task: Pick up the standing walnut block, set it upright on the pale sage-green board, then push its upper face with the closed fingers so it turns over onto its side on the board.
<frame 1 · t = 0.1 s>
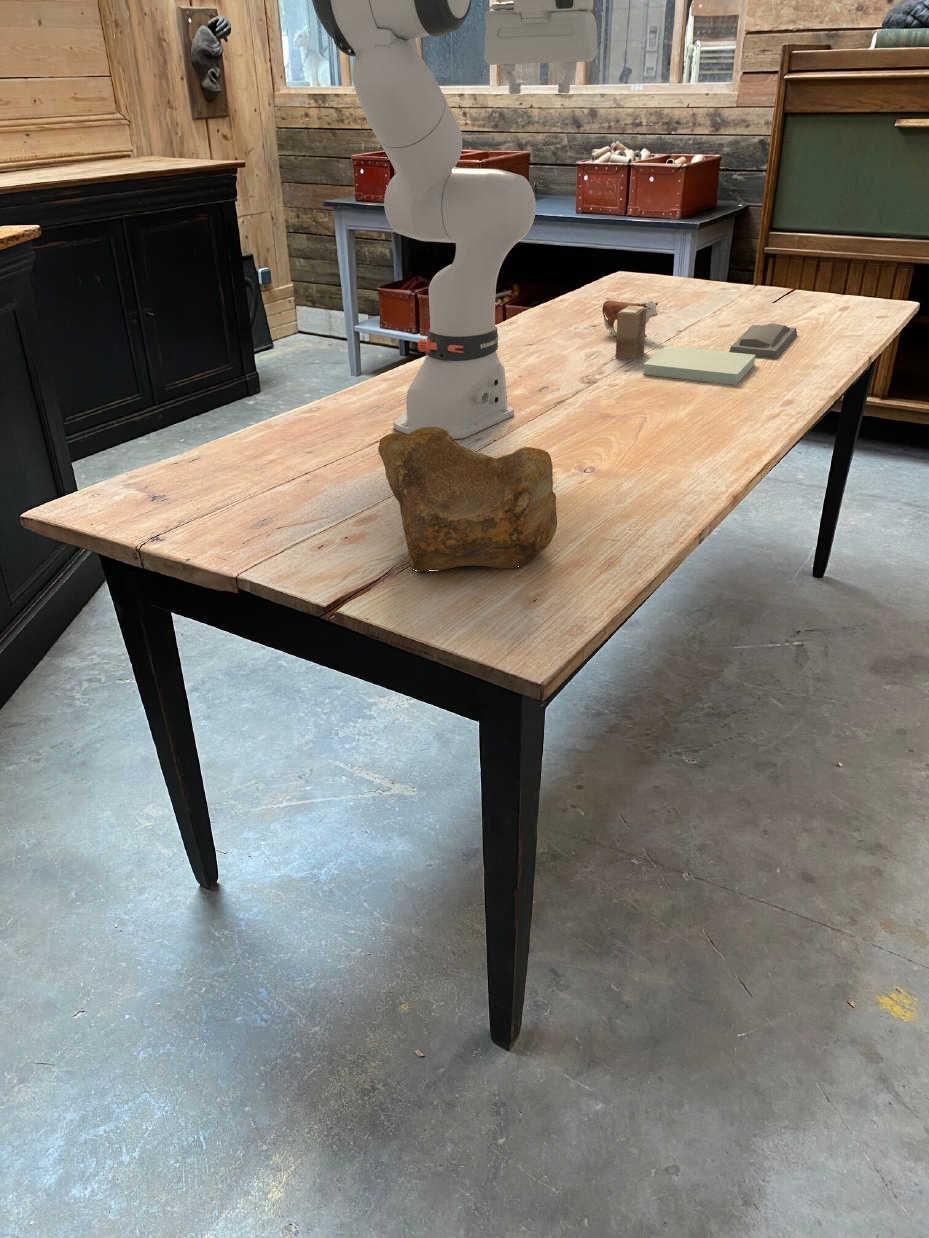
hand: (539, 94, 166), 48 cm above the table, tool pointing down, fingers open, 8 cm apart
block: (629, 355, 194), on the table
bull figurine: (629, 337, 207), on the table
soap mold: (762, 347, 198), on the table
board: (699, 369, 183), on the table
rough brown rock: (456, 559, 118), on the table
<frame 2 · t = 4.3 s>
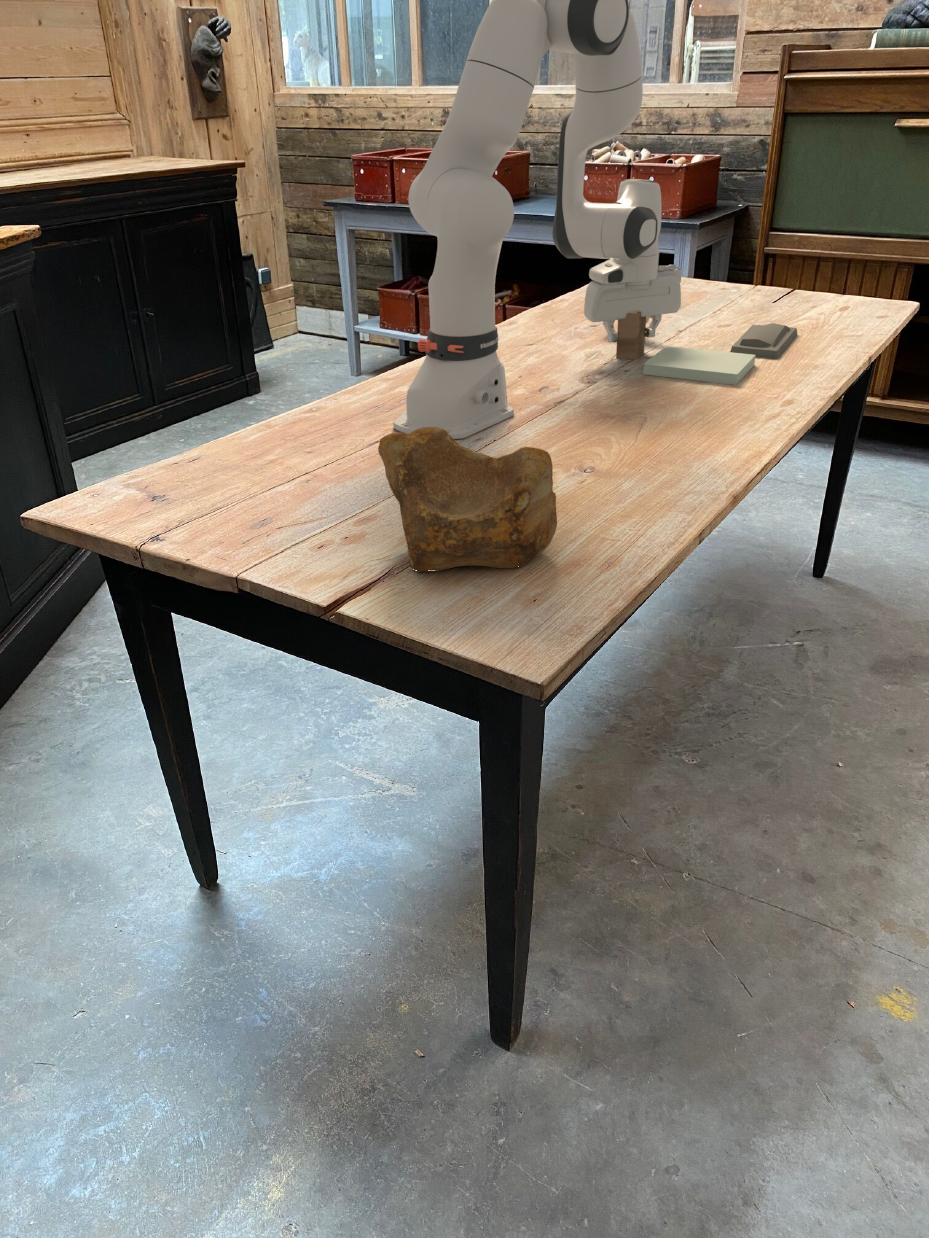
hand: (631, 339, 192), 3 cm above the table, tool pointing down, fingers closed on block, 7 cm apart
block: (630, 354, 194), on the table, touching gripper
everything else where it was.
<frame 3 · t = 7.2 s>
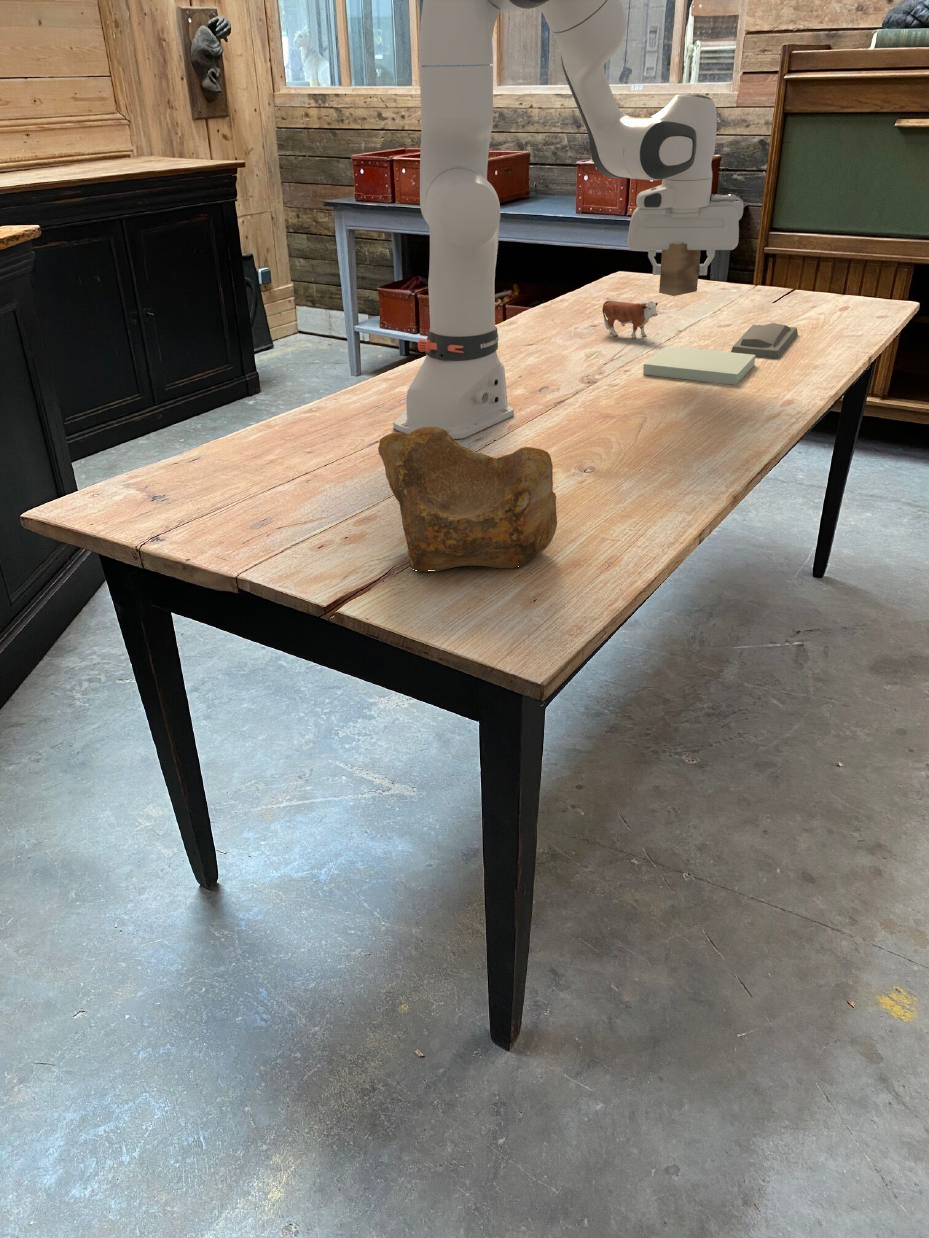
hand: (679, 274, 178), 17 cm above the table, tool pointing down, fingers closed on block, 7 cm apart
block: (677, 292, 179), point 14 cm above the table, touching gripper
everything else where it was.
when the fingers open (6 cm above the table, at t = 10.1 s): block stays where it is, resting on board.
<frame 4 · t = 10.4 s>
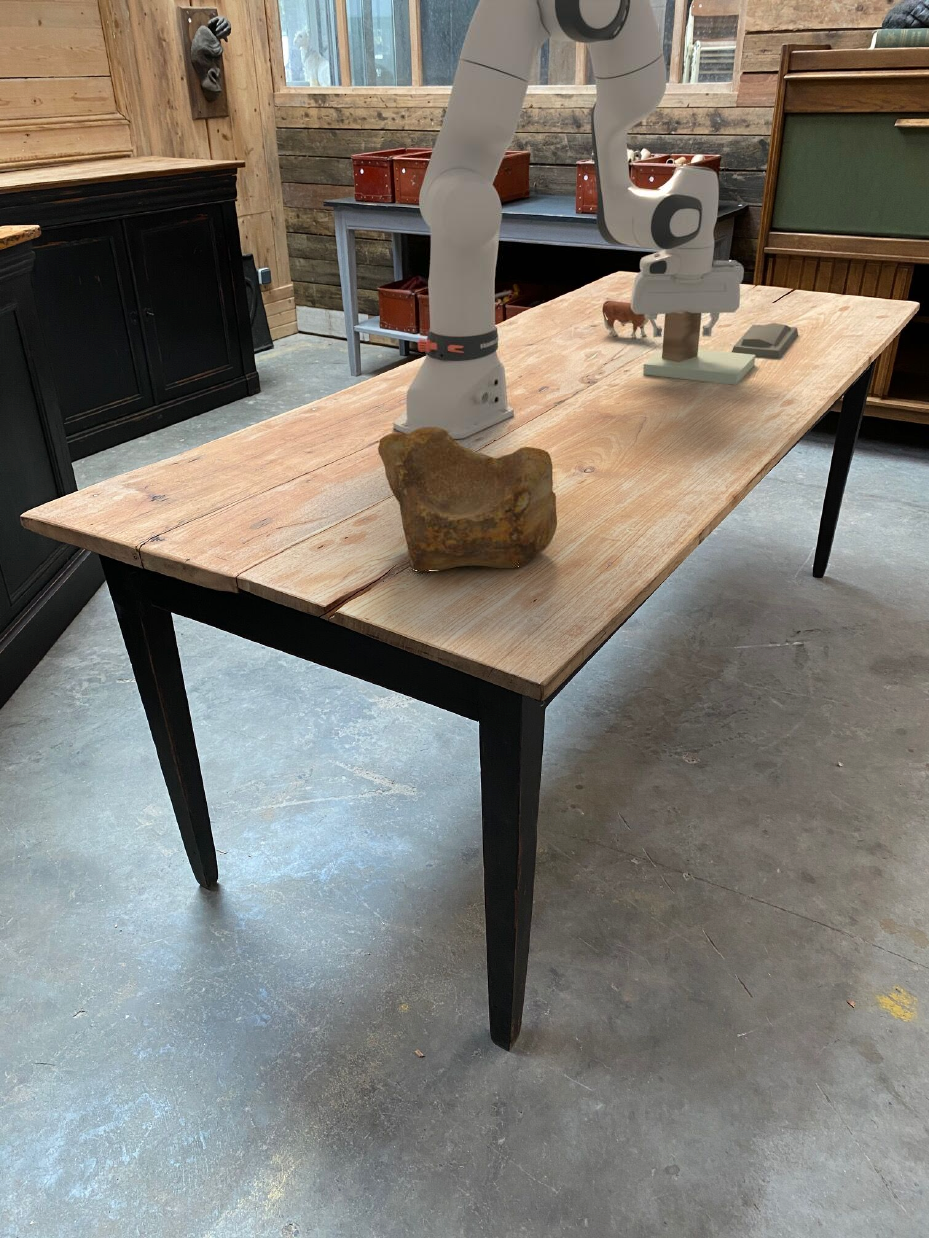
hand: (681, 336, 182), 6 cm above the table, tool pointing down, fingers open, 8 cm apart
block: (679, 357, 184), point 2 cm above the table, touching board
everything else where it was.
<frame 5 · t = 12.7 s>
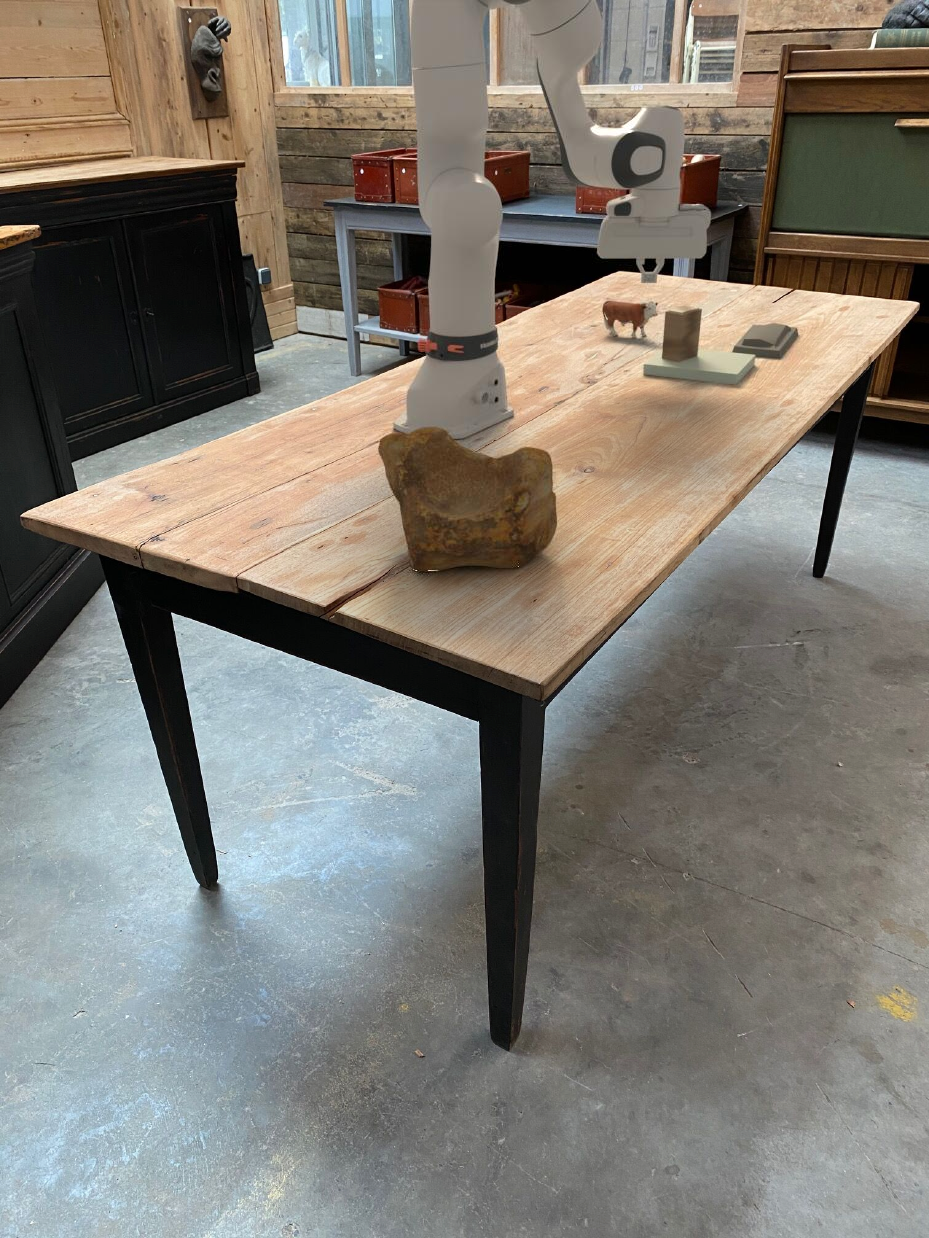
hand: (648, 282, 180), 16 cm above the table, tool pointing down, fingers closed
nothing on the table moved.
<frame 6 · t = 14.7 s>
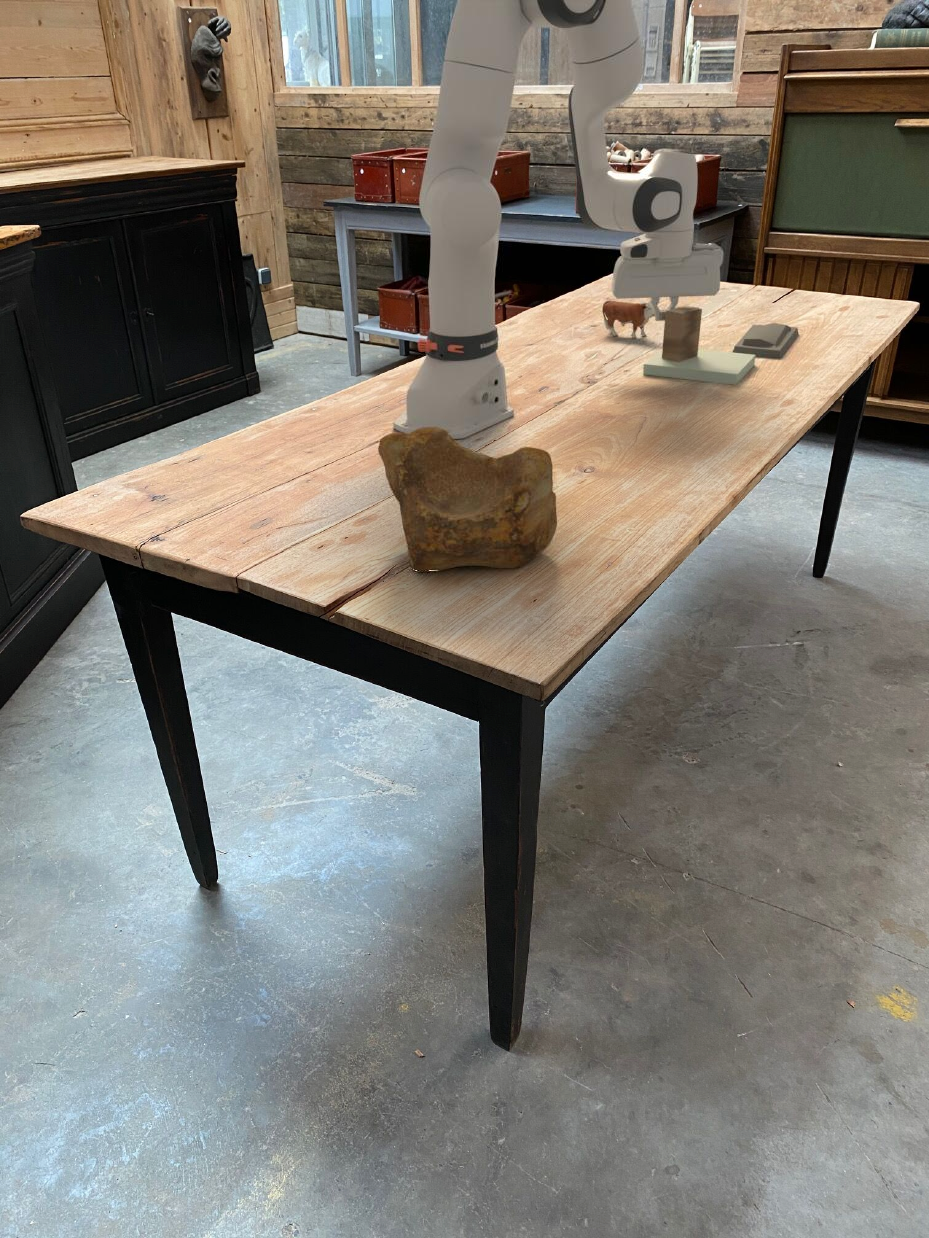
hand: (662, 320, 182), 9 cm above the table, tool pointing down, fingers closed
block: (679, 357, 184), point 2 cm above the table, touching board, gripper
everything else where it was.
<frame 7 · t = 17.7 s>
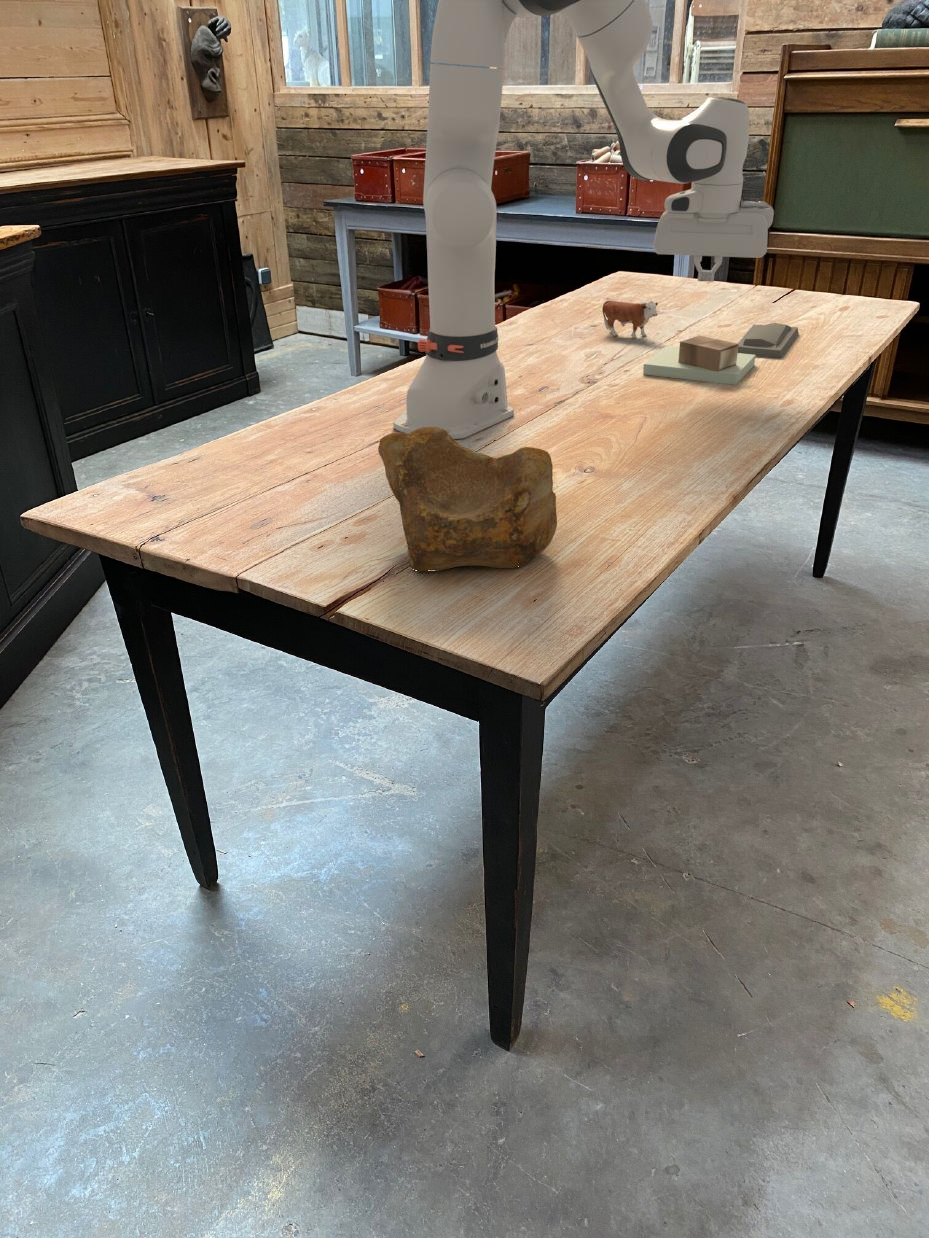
hand: (705, 281, 175), 17 cm above the table, tool pointing down, fingers closed
block: (688, 349, 182), point 4 cm above the table, tilted 90°, touching board
everything else where it was.
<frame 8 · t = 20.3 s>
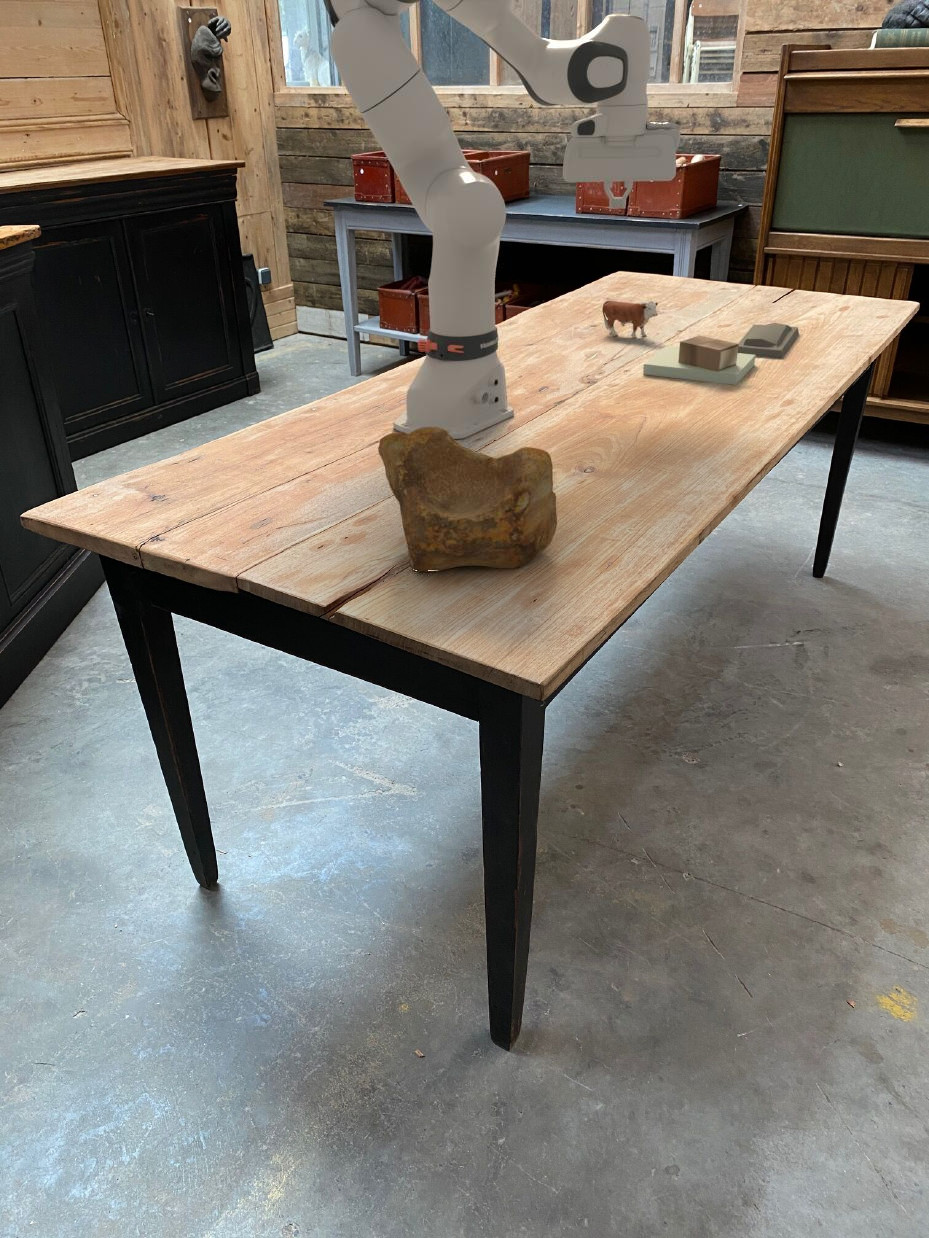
hand: (617, 208, 173), 29 cm above the table, tool pointing down, fingers closed
nothing on the table moved.
at the end: block tilted 90°; block inside the target area (3.8 cm from its centre), point 4.0 cm above the table; the gripper is holding nothing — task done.
